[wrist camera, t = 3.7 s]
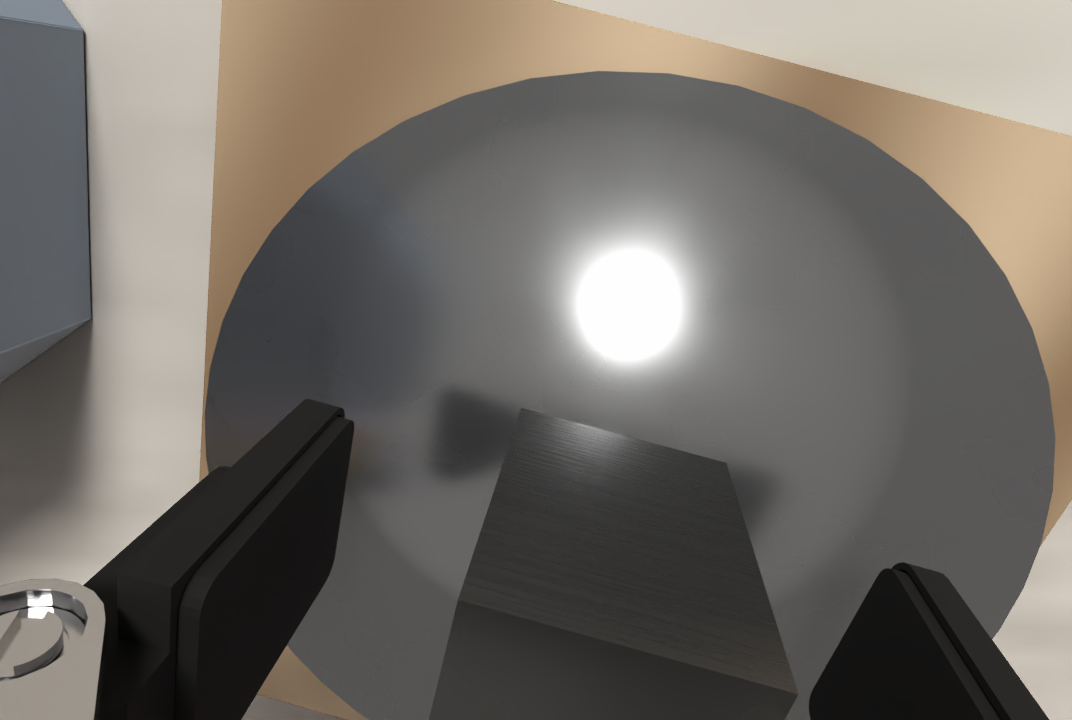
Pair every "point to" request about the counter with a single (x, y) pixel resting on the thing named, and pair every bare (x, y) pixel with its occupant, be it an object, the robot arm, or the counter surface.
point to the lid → (634, 401)
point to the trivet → (576, 47)
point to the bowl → (41, 180)
